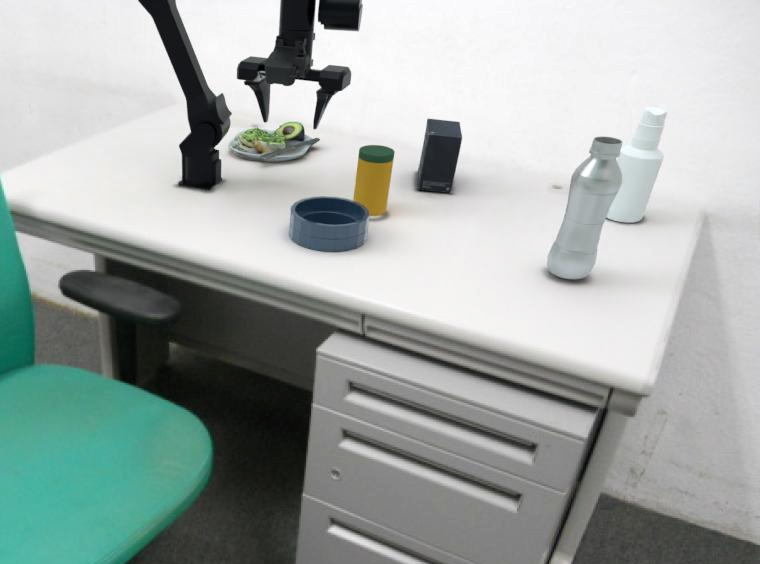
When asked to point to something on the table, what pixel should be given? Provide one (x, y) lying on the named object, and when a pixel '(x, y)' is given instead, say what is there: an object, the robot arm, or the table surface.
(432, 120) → the small box
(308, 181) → the table surface
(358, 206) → the bowl
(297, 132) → the salad plate
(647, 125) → the spray bottle
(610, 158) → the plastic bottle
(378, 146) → the green-capped yellow cylinder
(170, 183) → the table surface
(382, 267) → the table surface
